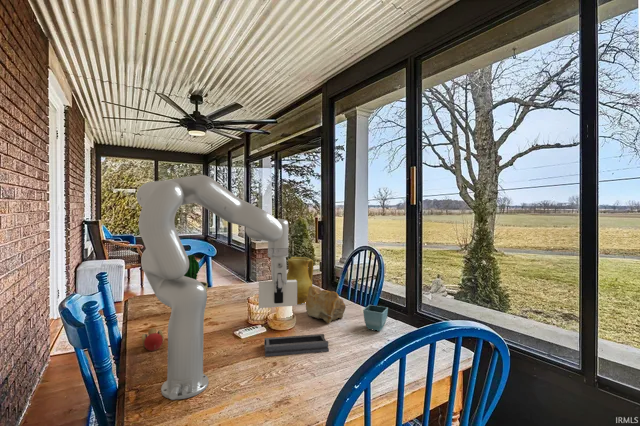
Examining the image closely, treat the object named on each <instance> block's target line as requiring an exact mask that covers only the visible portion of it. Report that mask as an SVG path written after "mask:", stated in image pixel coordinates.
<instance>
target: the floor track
mask: <svg viewBox="0 0 640 426" xmlns="http://www.w3.org/2000/svg"><path fill="white" fill-rule="evenodd" d="M263 342H264V343H263V345H264V347H263V348H264V357H265V358H267V357H268V358H269V357H278V356H293V355H301V354H302V355H304V354H313V353H315V354H317V353H327V352H329V351H330V348H329V341H328V340H327V339H325V334H324V333H318V334H303V335H301V334H300V335H288V336H287V335H285V336H277V337H276V336H273V337H264V341H263Z"/></svg>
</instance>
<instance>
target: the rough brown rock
mask: <svg viewBox="0 0 640 426" xmlns="http://www.w3.org/2000/svg"><path fill="white" fill-rule="evenodd" d="M346 307H347V306H346V303H345V302H344V299H342V298H340V295H339V294H338V293H337V291H330V290H326V289H322V290H321V288H320V287H318V286H313V285H312V286H310V287H309V291H308V297H307V299H306V304H305V309H306V313H307V315H308V316H309V317H311V318H315V319H322V320H323V321H324V323H326V324H330V323H331V322H333V321H335V320H337V319H338V318H342V319H343V317H344V313H345V311H346ZM332 320H333V321H332Z"/></svg>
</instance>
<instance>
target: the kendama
mask: <svg viewBox="0 0 640 426" xmlns="http://www.w3.org/2000/svg"><path fill="white" fill-rule="evenodd" d="M141 341H142V347H143V348H145V349H146V350H148V351H153V352H154V351H156V350H157V351H158V349H160V348H161V347H162V345H163V342H164V341H165V340H164V333H163V330H162V329H159V330H158V331H157V329H156V328H155V327H151V328H149V330H148V332H147V333H143V334H142V335H141Z"/></svg>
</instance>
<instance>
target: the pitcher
mask: <svg viewBox="0 0 640 426" xmlns="http://www.w3.org/2000/svg"><path fill="white" fill-rule="evenodd" d="M287 262H288V268H287V269H288V270H287V280H296V281H297V304H300V305H302V304H301V303H305V302H306V299H307V297H308V291H309V287H310V286H313V275H314V260H313V259H311V258H309V257H304V256H291V257H290V258H289V259H287Z"/></svg>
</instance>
